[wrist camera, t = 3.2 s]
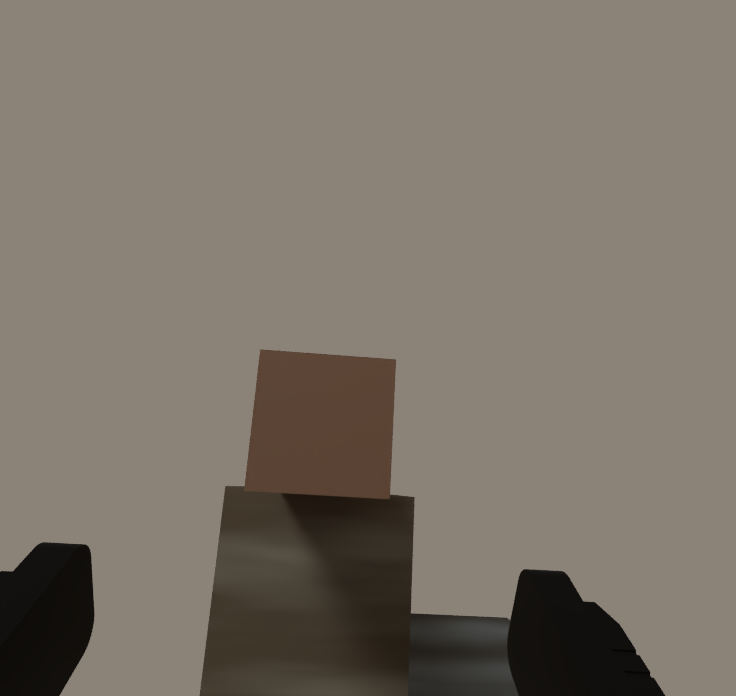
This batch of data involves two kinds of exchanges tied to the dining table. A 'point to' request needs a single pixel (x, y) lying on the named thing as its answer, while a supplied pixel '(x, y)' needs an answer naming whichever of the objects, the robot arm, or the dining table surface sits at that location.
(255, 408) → the block
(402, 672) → the stepped stand
